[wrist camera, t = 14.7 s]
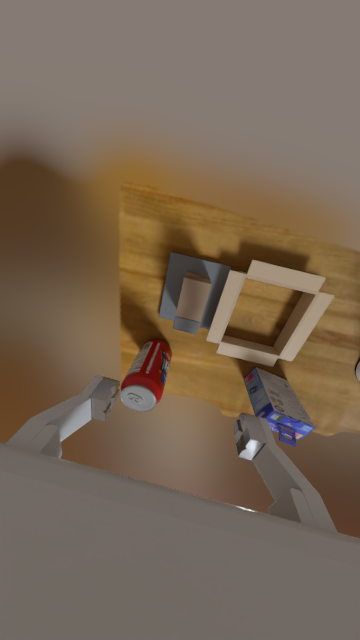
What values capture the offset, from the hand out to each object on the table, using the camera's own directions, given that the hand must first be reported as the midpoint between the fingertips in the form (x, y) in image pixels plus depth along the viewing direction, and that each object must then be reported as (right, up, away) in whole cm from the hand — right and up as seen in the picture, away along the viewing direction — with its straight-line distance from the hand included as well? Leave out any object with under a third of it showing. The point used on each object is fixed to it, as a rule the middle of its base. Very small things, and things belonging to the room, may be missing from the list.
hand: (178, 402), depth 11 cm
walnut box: (+3, +11, +24) cm, 26 cm away
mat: (+3, +11, +25) cm, 27 cm away
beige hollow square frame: (+17, +7, +25) cm, 31 cm away
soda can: (-6, -2, +32) cm, 33 cm away
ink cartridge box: (+22, -10, +32) cm, 41 cm away
